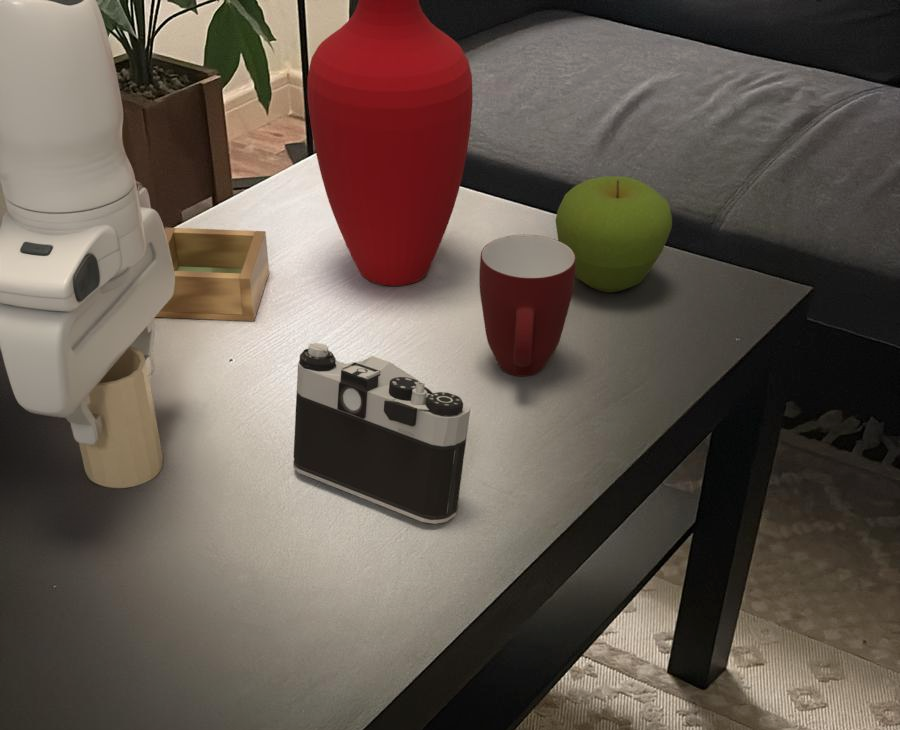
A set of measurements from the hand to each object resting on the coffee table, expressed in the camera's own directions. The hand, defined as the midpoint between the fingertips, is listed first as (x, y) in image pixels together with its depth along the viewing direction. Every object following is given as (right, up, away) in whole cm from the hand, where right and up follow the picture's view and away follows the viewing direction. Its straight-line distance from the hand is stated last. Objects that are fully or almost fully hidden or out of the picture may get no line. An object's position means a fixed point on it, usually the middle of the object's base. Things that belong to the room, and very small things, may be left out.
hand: (116, 406), depth 99 cm
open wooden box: (+3, +18, +23) cm, 30 cm away
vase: (+20, +21, +27) cm, 40 cm away
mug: (+32, +7, +15) cm, 36 cm away
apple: (+41, +20, +26) cm, 52 cm away
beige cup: (0, -4, +4) cm, 5 cm away
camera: (+22, -4, +4) cm, 22 cm away
